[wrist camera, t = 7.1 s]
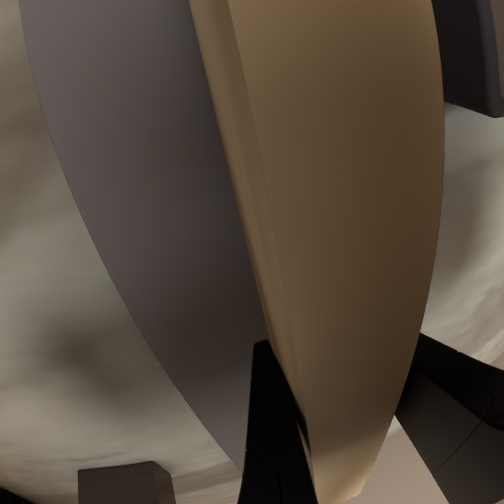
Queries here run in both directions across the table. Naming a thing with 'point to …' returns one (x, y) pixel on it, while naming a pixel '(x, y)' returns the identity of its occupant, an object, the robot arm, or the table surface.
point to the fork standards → (126, 485)
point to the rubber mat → (154, 189)
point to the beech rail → (334, 200)
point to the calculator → (472, 53)
